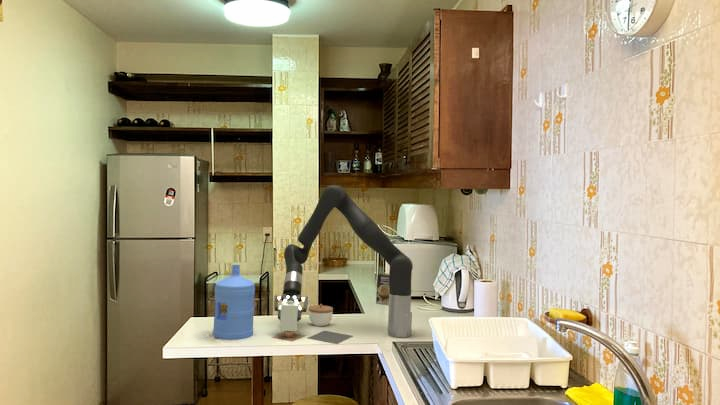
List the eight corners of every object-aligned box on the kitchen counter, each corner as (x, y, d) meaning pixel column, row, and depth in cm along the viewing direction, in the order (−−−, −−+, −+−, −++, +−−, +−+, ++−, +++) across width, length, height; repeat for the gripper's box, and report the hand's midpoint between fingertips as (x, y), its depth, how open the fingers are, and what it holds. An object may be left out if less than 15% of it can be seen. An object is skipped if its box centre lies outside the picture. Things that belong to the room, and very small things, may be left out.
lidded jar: (310, 328, 212) (311, 307, 212) (306, 322, 223) (307, 301, 223) (334, 328, 215) (335, 306, 215) (329, 322, 225) (330, 301, 225)
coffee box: (375, 303, 271) (376, 274, 271) (378, 301, 277) (379, 272, 277) (391, 305, 268) (393, 275, 268) (394, 303, 274) (395, 274, 274)
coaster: (306, 336, 200) (306, 335, 200) (292, 342, 191) (292, 341, 191) (285, 332, 204) (285, 331, 204) (271, 338, 195) (271, 337, 195)
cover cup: (281, 326, 201) (282, 299, 201) (297, 326, 201) (299, 299, 201) (279, 330, 194) (281, 302, 194) (296, 331, 194) (297, 303, 194)
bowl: (295, 336, 198) (295, 329, 198) (290, 338, 195) (290, 331, 195) (287, 334, 200) (288, 327, 200) (282, 336, 197) (282, 329, 197)
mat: (353, 336, 202) (353, 335, 202) (337, 345, 190) (337, 344, 190) (324, 331, 209) (324, 330, 209) (306, 339, 196) (306, 338, 196)
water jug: (252, 329, 207) (255, 262, 207) (253, 340, 192) (256, 268, 192) (213, 330, 203) (216, 262, 203) (211, 341, 188) (214, 267, 188)
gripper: (275, 279, 204) (270, 314, 193) (310, 280, 205) (307, 315, 194) (276, 289, 210) (271, 324, 198) (310, 290, 211) (307, 325, 199)
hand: (289, 319), depth 196 cm, fingers closed on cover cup, 6 cm apart
